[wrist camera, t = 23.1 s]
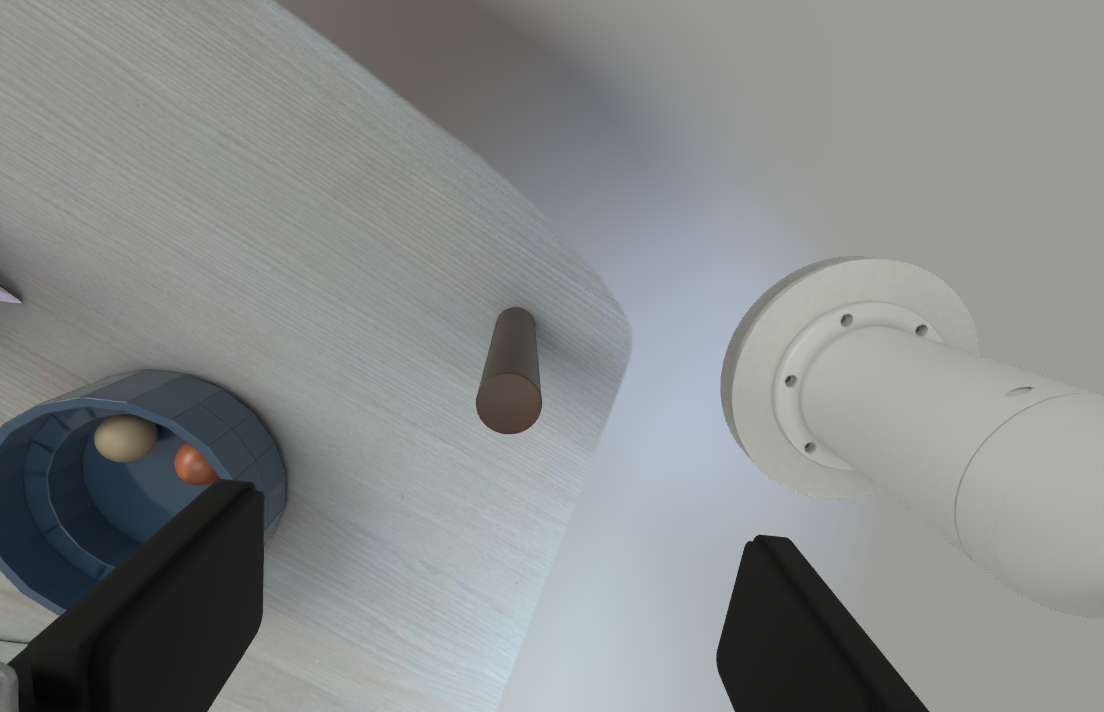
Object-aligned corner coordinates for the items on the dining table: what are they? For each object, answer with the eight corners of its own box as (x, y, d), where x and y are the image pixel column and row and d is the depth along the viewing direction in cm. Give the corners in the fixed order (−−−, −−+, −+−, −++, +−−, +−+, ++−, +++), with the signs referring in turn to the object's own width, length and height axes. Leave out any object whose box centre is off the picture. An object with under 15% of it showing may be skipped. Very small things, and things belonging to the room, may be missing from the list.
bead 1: (112, 480, 34) (105, 445, 36) (171, 457, 35) (161, 424, 37) (87, 449, 32) (80, 413, 33) (151, 426, 33) (141, 393, 35)
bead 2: (198, 430, 37) (247, 443, 37) (178, 477, 36) (229, 489, 36) (177, 428, 34) (231, 442, 34) (155, 479, 33) (211, 493, 33)
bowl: (292, 383, 36) (247, 415, 30) (286, 578, 40) (246, 641, 34) (48, 354, 35) (-46, 382, 29) (67, 559, 39) (-14, 620, 33)
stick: (537, 310, 36) (546, 377, 21) (531, 348, 36) (536, 438, 22) (498, 304, 36) (480, 368, 21) (493, 342, 36) (471, 430, 22)
